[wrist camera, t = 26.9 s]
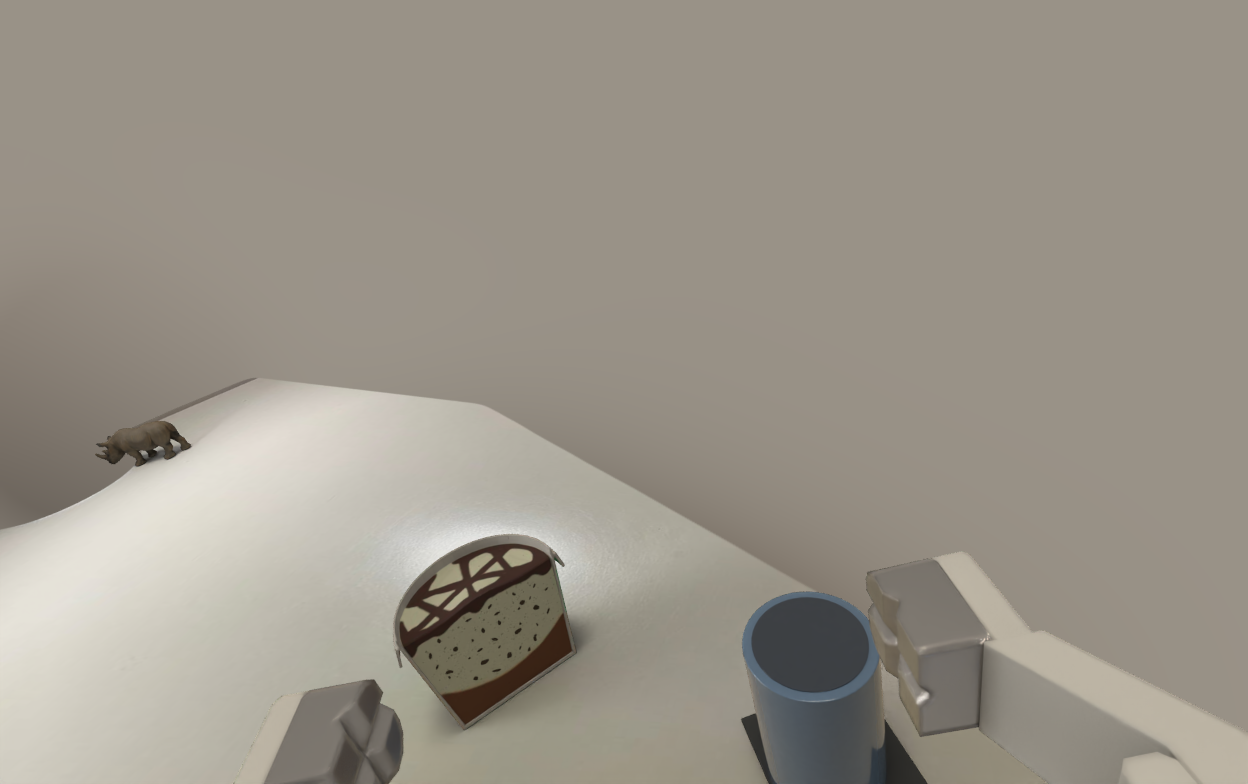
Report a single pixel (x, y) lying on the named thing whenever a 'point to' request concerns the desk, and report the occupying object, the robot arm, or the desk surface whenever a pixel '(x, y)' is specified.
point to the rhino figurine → (142, 442)
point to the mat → (901, 770)
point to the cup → (816, 690)
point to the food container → (485, 623)
